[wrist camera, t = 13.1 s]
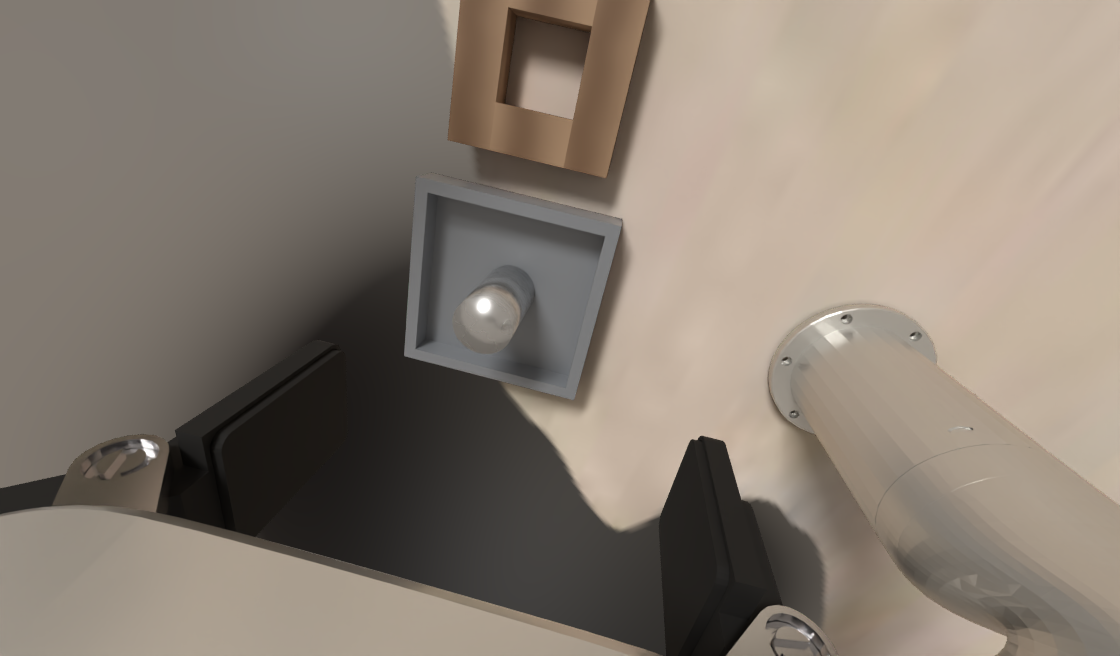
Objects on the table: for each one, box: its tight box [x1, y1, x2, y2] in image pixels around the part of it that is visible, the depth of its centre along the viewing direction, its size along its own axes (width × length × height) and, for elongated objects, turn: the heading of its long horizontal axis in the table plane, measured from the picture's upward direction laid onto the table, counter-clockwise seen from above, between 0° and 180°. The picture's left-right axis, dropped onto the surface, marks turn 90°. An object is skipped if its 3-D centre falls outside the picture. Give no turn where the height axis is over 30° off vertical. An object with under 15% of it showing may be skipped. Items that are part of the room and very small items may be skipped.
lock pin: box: [452, 265, 535, 354], centre depth 35 cm, size 4×4×8 cm
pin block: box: [448, 0, 651, 178], centre depth 31 cm, size 12×12×2 cm
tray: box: [404, 173, 622, 400], centre depth 38 cm, size 16×16×3 cm
